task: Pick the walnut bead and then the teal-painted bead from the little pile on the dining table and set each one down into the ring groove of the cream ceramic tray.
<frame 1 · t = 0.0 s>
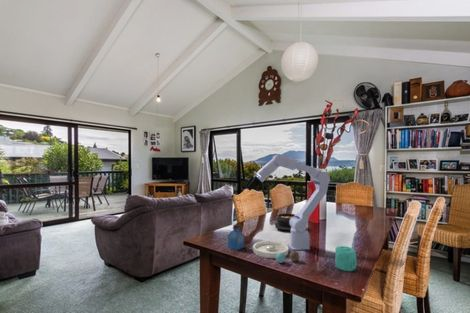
hand: (247, 188, 130), 32 cm above the table, tool tilted 50°, fingers open, 7 cm apart
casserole: (288, 228, 172), on the table
decorative dice: (345, 267, 109), on the table
tray: (270, 251, 127), on the table
teal bead: (280, 262, 113), on the table
perfume bottle: (236, 247, 133), on the table
walnut bead: (294, 260, 115), on the table
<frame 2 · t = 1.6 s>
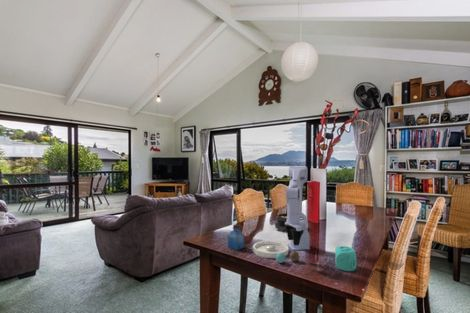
hand: (293, 242, 115), 9 cm above the table, tool pointing down, fingers open, 7 cm apart
nothing on the table moved.
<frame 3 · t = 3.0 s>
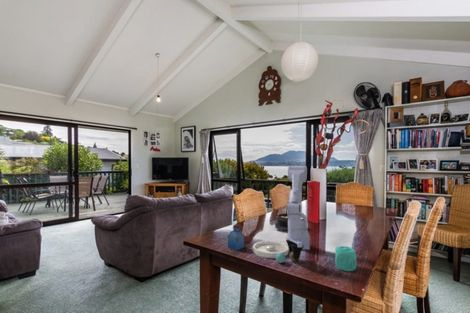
hand: (294, 257, 115), 2 cm above the table, tool pointing down, fingers closed on walnut bead, 4 cm apart
walnut bead: (294, 260, 115), on the table, touching gripper
everything else where it was.
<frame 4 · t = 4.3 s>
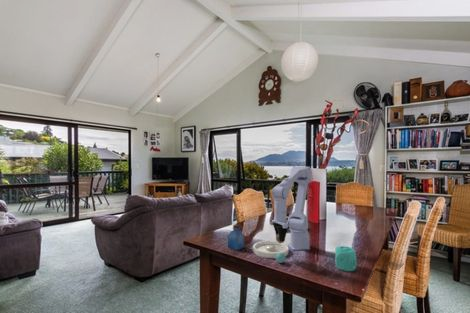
hand: (280, 239, 119), 9 cm above the table, tool pointing down, fingers closed on walnut bead, 4 cm apart
walnut bead: (280, 242, 119), point 7 cm above the table, touching gripper
everything else where it was.
when the fingers open (4 cm above the table, at t = 5.9 s): walnut bead drops 1 cm, resting on tray.
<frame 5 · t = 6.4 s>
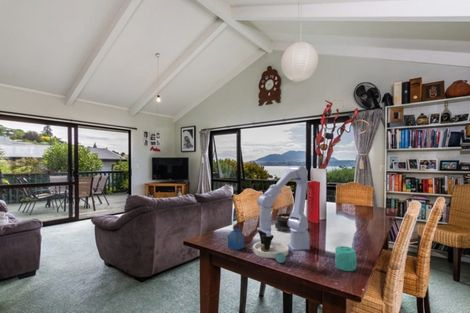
hand: (265, 246, 123), 4 cm above the table, tool pointing down, fingers open, 7 cm apart
walnut bead: (265, 252, 123), point 1 cm above the table, tilted 12°, touching tray
everything else where it was.
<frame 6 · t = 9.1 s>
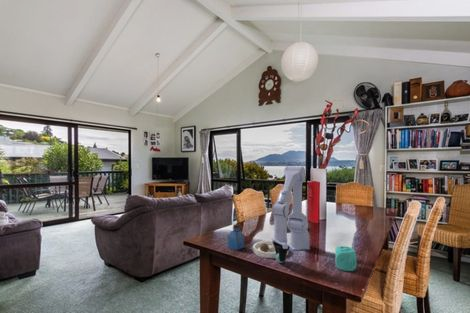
hand: (280, 259, 113), 2 cm above the table, tool pointing down, fingers closed on teal bead, 4 cm apart
teal bead: (280, 262, 113), on the table, touching gripper
walnut bead: (265, 252, 123), point 1 cm above the table, tilted 23°, touching tray
everything else where it was.
when the fingers open (4 cm above the table, at t = 11.6 s): teal bead drops 1 cm, resting on tray.
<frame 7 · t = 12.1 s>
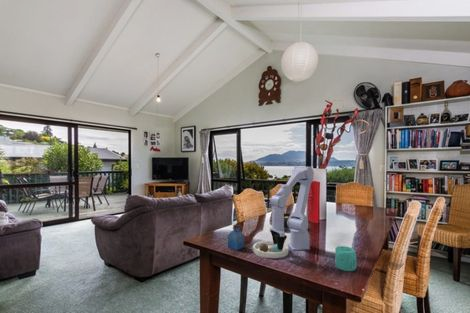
hand: (278, 246, 123), 4 cm above the table, tool pointing down, fingers open, 7 cm apart
teal bead: (277, 253, 123), point 1 cm above the table, touching tray
everything else where it was.
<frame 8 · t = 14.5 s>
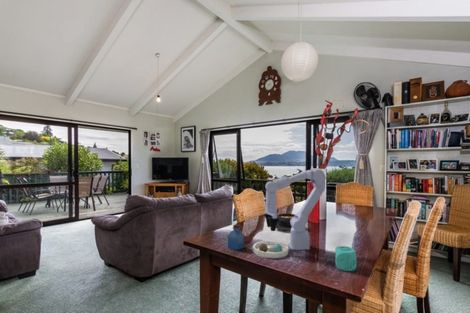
hand: (271, 228, 133), 10 cm above the table, tool pointing down, fingers open, 7 cm apart
nothing on the table moved.
at the end: walnut bead inside the target area on the tray (5.3 cm from its centre), point 1.0 cm above the tray's base; teal bead inside the target area on the tray (5.2 cm from its centre), point 0.8 cm above the tray's base; the gripper is holding nothing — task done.
